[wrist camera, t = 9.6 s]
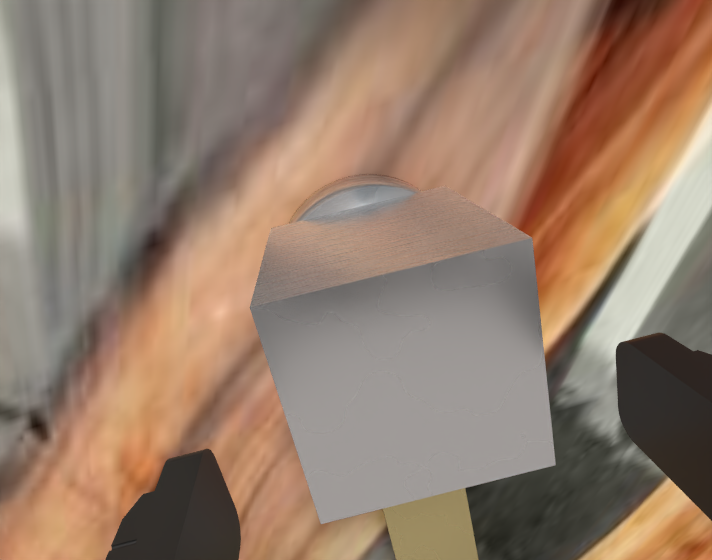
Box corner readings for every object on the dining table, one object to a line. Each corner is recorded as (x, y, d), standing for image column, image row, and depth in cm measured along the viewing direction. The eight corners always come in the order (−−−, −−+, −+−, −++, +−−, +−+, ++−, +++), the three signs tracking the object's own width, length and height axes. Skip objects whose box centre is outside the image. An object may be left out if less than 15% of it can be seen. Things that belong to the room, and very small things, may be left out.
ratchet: (503, 557, 26) (576, 725, 19) (373, 590, 26) (397, 770, 19) (438, 154, 19) (517, 187, 12) (257, 198, 19) (228, 256, 12)
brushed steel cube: (470, 341, 18) (555, 465, 12) (315, 380, 18) (321, 524, 12) (445, 185, 16) (531, 237, 10) (270, 228, 16) (249, 307, 10)
